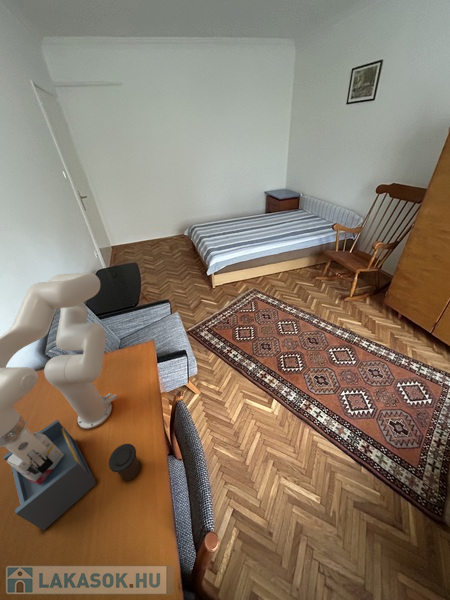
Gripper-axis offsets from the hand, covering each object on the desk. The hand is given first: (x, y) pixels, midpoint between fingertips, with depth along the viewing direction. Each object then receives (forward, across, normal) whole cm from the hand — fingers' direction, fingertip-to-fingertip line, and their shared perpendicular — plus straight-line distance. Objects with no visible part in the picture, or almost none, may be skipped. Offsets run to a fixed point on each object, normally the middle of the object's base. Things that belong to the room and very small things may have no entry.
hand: (41, 461), depth 71 cm
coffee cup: (+13, -18, -13) cm, 26 cm away
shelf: (+13, 0, 0) cm, 13 cm away
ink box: (+4, 0, 0) cm, 4 cm away
